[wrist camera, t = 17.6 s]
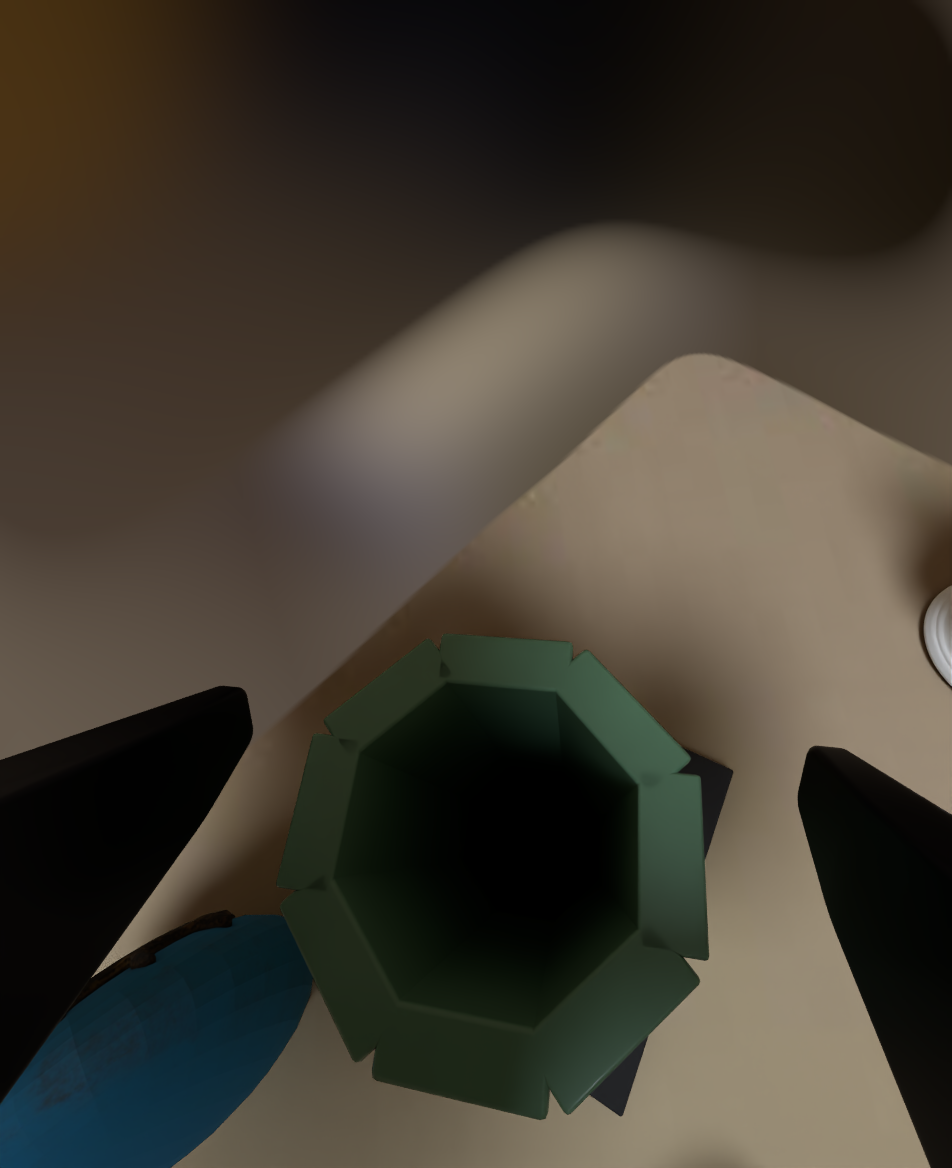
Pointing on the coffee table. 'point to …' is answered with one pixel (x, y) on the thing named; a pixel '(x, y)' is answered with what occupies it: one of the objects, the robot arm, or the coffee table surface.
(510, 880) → the mat
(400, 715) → the octagonal pen holder
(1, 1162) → the ornament
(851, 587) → the coffee table surface
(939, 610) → the candle
